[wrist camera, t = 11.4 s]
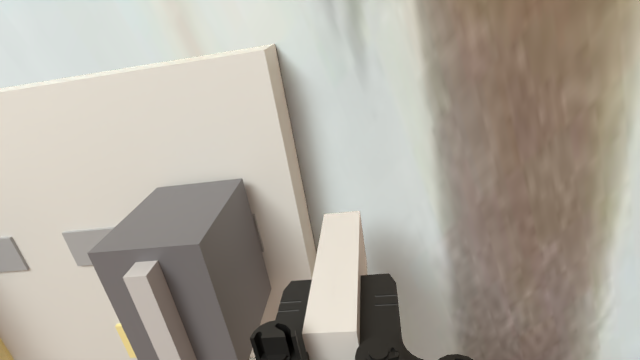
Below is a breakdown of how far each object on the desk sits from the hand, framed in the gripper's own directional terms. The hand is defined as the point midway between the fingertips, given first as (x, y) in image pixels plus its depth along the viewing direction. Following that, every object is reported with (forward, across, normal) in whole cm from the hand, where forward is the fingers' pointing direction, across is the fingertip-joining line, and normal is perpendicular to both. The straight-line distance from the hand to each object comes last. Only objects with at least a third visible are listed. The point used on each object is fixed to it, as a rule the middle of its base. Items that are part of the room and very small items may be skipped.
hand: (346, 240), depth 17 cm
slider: (+1, -6, 0) cm, 6 cm away
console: (+3, -20, 0) cm, 20 cm away
